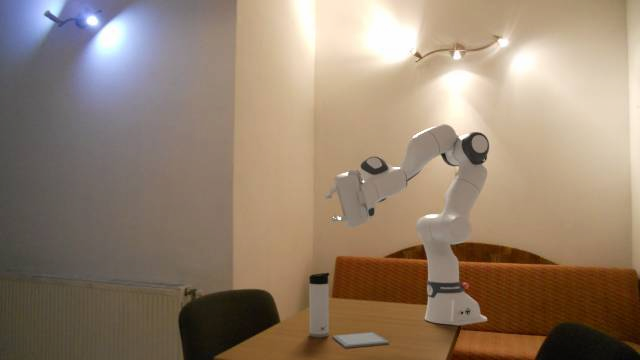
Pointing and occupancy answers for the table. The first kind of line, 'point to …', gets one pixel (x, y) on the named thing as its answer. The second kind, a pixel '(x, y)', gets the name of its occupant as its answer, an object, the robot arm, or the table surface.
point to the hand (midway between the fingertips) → (329, 208)
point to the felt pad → (359, 340)
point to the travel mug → (318, 305)
